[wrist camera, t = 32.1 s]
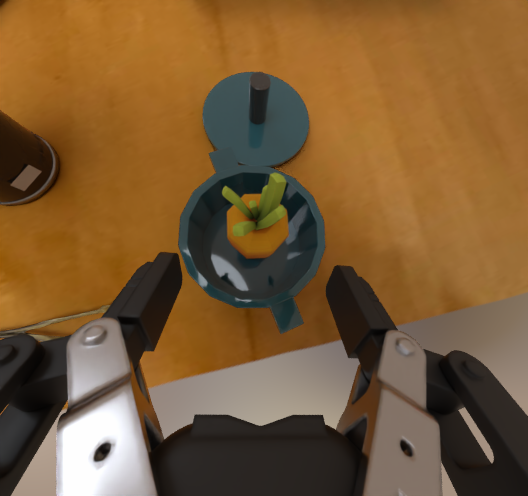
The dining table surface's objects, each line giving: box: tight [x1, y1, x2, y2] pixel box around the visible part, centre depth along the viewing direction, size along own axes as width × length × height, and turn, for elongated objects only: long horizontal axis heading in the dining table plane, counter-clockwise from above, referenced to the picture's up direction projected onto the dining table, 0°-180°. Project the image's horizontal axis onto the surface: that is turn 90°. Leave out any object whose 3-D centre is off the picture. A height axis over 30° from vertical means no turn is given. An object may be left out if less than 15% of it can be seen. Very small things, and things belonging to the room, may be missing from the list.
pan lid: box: [203, 72, 309, 167], centre depth 25 cm, size 15×15×6 cm
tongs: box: [0, 305, 110, 341], centre depth 21 cm, size 4×13×2 cm, turn 99°
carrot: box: [222, 173, 289, 259], centre depth 17 cm, size 5×5×15 cm
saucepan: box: [178, 147, 325, 334], centre depth 22 cm, size 14×19×7 cm
